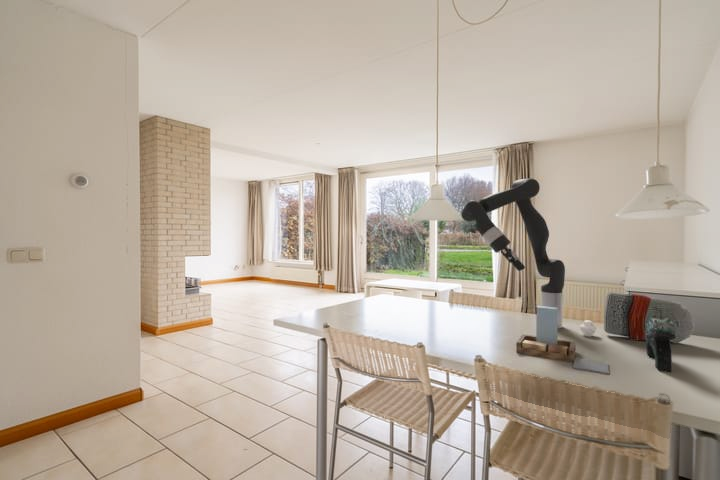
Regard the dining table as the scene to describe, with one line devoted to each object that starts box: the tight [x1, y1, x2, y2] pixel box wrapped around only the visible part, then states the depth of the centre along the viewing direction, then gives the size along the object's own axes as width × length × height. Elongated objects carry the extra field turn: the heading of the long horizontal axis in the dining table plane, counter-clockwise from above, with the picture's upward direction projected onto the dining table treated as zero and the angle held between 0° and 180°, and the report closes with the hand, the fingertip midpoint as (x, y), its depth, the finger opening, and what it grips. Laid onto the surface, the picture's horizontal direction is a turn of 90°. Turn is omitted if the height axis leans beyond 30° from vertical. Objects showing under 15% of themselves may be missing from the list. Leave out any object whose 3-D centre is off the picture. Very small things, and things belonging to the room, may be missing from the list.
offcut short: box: [548, 344, 568, 355], centre depth 132 cm, size 6×4×4 cm, turn 55°
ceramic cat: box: [645, 308, 675, 373], centre depth 125 cm, size 20×6×20 cm, turn 151°
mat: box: [572, 357, 610, 375], centre depth 122 cm, size 10×10×1 cm
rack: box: [515, 333, 577, 363], centre depth 137 cm, size 19×13×4 cm
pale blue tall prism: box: [535, 305, 559, 345], centre depth 139 cm, size 7×4×17 cm, turn 56°
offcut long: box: [522, 340, 547, 351], centre depth 137 cm, size 8×4×4 cm, turn 53°
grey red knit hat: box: [603, 291, 696, 344], centre depth 152 cm, size 19×6×30 cm
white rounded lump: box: [579, 320, 597, 337], centre depth 159 cm, size 6×6×7 cm
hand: (522, 269), depth 147 cm, fingers open, 8 cm apart
